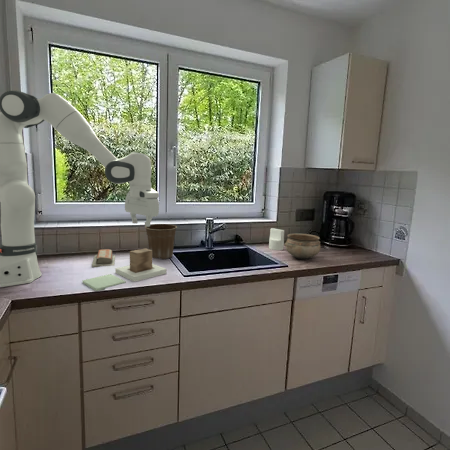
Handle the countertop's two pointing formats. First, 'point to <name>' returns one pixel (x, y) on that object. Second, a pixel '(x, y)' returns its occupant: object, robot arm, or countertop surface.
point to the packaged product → (104, 258)
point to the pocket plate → (140, 275)
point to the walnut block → (140, 260)
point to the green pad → (103, 282)
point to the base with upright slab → (276, 239)
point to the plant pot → (161, 240)
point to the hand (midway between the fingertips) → (141, 224)
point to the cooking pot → (302, 245)
